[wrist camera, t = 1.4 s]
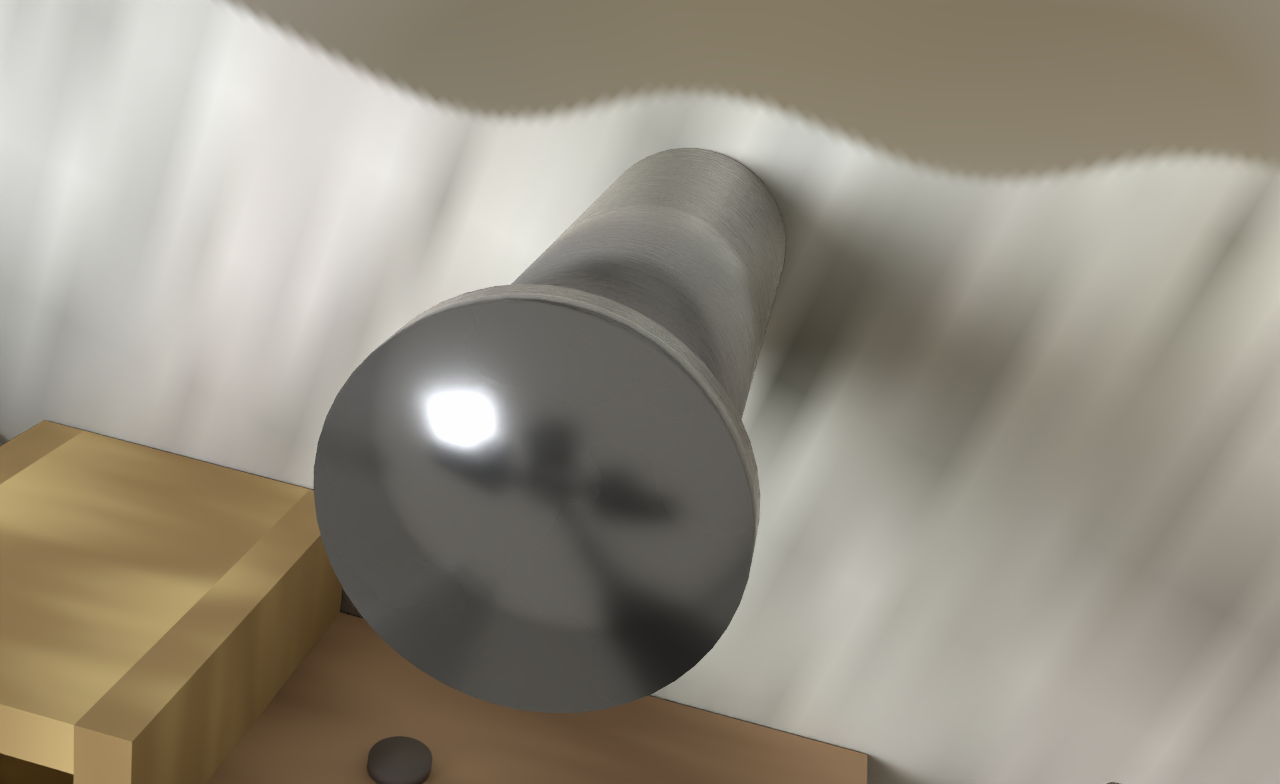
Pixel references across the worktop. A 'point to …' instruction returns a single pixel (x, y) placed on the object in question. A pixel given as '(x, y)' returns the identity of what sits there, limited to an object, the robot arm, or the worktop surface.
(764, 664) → the worktop surface
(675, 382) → the hinge pin
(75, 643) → the knuckle leaf
